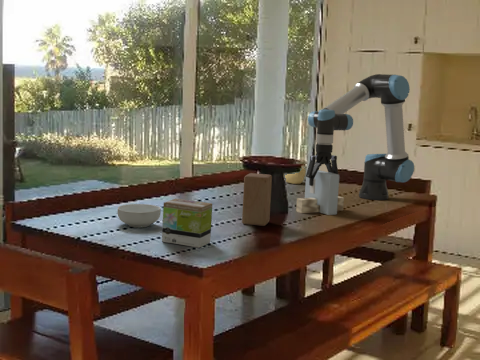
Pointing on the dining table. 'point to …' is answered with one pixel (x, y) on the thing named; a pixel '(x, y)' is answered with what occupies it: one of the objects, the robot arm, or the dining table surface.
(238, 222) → the dining table surface
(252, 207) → the wooden block
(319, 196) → the grey board
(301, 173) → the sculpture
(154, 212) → the cereal bowl
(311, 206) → the maple rail
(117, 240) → the dining table surface
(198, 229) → the tea box
